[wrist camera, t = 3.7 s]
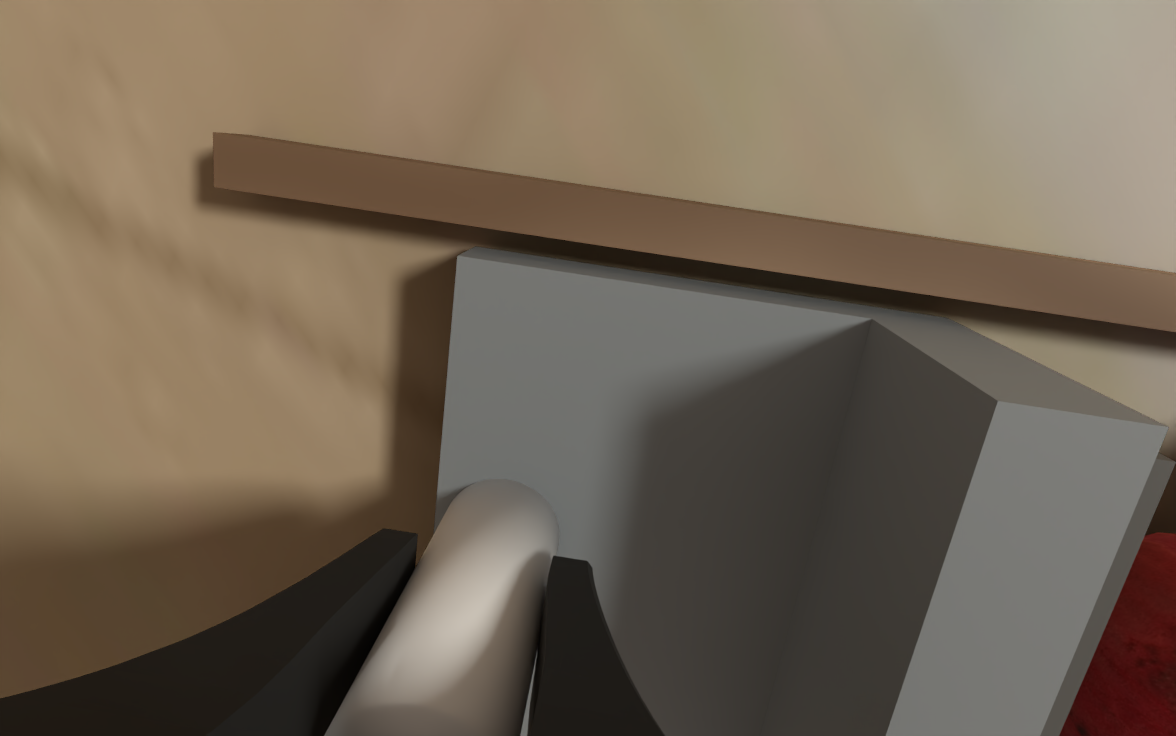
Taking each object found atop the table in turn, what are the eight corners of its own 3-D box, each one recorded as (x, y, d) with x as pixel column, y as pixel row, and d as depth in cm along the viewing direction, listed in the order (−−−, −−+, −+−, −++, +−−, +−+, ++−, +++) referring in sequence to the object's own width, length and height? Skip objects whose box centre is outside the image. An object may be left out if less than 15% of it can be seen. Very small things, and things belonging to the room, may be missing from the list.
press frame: (1251, 860, 17) (1634, 1295, 11) (249, 693, 18) (21, 1005, 11) (1553, 328, 13) (2470, 494, 7) (247, 135, 14) (-110, 107, 7)
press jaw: (837, 752, 17) (984, 1182, 10) (434, 685, 17) (291, 1058, 10) (971, 321, 14) (1338, 491, 7) (475, 246, 14) (308, 332, 7)
